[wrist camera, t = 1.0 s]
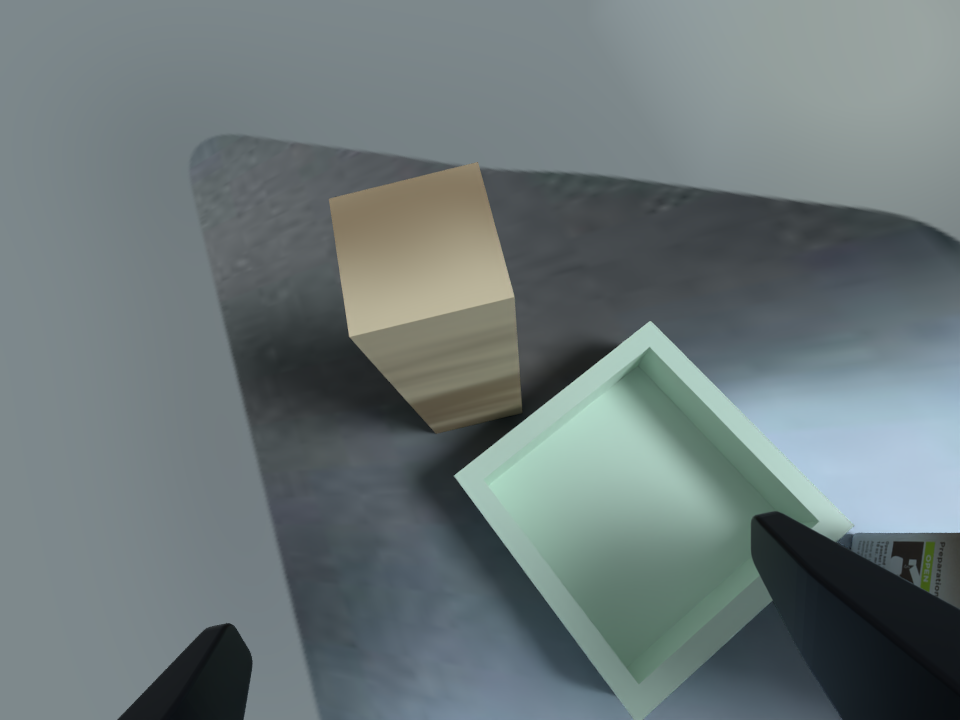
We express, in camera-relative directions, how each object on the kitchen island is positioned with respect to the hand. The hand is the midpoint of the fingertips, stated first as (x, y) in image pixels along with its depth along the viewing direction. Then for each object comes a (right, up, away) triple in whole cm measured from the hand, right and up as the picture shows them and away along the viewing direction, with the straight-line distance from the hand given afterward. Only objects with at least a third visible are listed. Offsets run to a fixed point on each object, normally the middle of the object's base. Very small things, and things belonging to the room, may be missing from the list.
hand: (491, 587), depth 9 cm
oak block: (-1, +3, +15) cm, 16 cm away
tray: (+6, -2, +13) cm, 15 cm away
